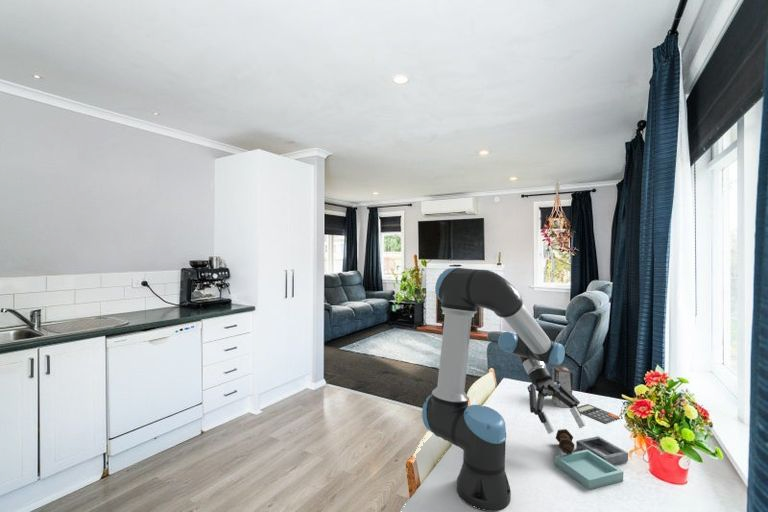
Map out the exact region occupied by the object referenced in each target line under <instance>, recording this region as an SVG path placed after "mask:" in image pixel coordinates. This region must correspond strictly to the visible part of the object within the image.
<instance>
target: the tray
mask: <svg viewBox="0 0 768 512" xmlns="http://www.w3.org/2000/svg"><path fill="white" fill-rule="evenodd" d="M554 465H555V466H556V467H558V468H559V469H560V470H561V471H563V472H564V473H565V474H566V475H568V476H569V477H571V478H572V479H573V480H575V481H577V482H578V483H579V484H581V485H582V486H584V487H585V488H586V489H587V490H590V491H591V490H593V489H597V488H601V487H604V486H607V485H608V486H609V485H612V484H615V483H619V482H622V481H624V471H623V470H622V469H621V468H618V467H616V465H612V464H610V463H609V462H607V461H605V460H604V459H602V458H601V457H599V456H597V455H596V454H594V453H592V452H591V451H589V450H582V451H578V450H577V451H573V453H571V454H566V453H563V454H560V455H556V456H554Z"/></svg>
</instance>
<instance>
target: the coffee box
mask: <svg viewBox="0 0 768 512" xmlns="http://www.w3.org/2000/svg"><path fill="white" fill-rule="evenodd" d="M551 378H552V381H553V382H554V383H555V382H557V381H558V380H559V381H561V383H562V384H563V386H564V387H565V388H566V389H567V390H568V391H569V392H570V393H571V394H572V395H573V385H574V384H573V381H574V379H573V378H574V372H573V371H572V370H570V369H569V368H568V366H561V365H556V366H555V365H552V374H551ZM555 392H556V391H555ZM551 400H552V401H553V402H554V404H555V405H556V406H557V407H559V408H569V409H571V408H570V407H569V406H567V405H566V404H565V403H563V402H562V401H561V400H559V399H558V398H557V397H554V396H551Z"/></svg>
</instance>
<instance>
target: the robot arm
mask: <svg viewBox="0 0 768 512" xmlns="http://www.w3.org/2000/svg"><path fill="white" fill-rule="evenodd" d="M434 291H435V294H436V297H437V299H438V300H439V301H440V302H441V304H440V308H441V310H442V311H443V313H444V320H443V328H442V336H441V337H442V338H441V348H440V356H439V357H440V359H439V367H438V377H437V378H438V379H437V385H436V387H435V388H434V389H433V390H431V394H430V395H428V396H427V398H426V399H425V402H424V403H423V405H422V409H421V418H422V423H423V424H424V426H425V427H426V430H428V431H429V432H430V433H432V434H434V435H435V436H436V437H438V438H441V439H443V440H445V441H446V442H448V443H450V444H452V445H454V446H456V447H458V448H460V449H461V450H462V451H463V455H462V457H463V461H462V465H461V468H460V471H459V473H458V476H457V478H456V493H457V495H458V494H459V495H458V496H459V497H461V498H462V499H463V500H464V501H465V503H466V504H467V503H468V504H467V505H469V504H470V505H472V506H475V507H477V508H480V509H479V510H481V509H485V510H484V511H486V510H492V511H491V512H494V511H493V510H496V511H501V510H504V509H505V508H506V507H508V506H509V505H510V503H511V500H512V499H511V495H512V493H511V486H510V483H509V480H508V476H507V473H506V444H507V442H506V441H507V439H506V438H507V429H506V421H505V419H504V417H503V416H502V414H501V413H499V412H498V411H497V410H495V409H493V408H491V407H489V406H486V405H480V404H470V405H469V400H470V399H469V398H470V397H469V396H468V395H467V394H466V392H465V388H466V378H467V367H468V359H469V358H468V357H469V350H470V349H469V348H470V346H469V345H470V338H471V327H472V320H473V316H474V315H475V314H477V313H478V308H482V309H487V310H490V311H492V312H493V313H494V314H495V315H496V316H497V317H499V318H503V320H504V321H506V323H507V324H508V325H509V327H511V329H512V330H513V331H514V332H511V331H504V332H502V333H500V335H499V337H498V339H497V341H498V342H497V344H498V347H499V348H500V350H502V351H503V352H504V353H507V354H510V355H514V356H516V357H518V358H519V360H520V363H521V364H522V366H523V368H524V370H525V372H526V374H527V375H528V378H529V380H530V384H529V385H528V386H527V387H526V388H527V391H528V395H529V396H528V397H529V410H530V413H532V414H533V413H534V415H536V416H538V418H539V421H540V423H541V424H543V426H544V428H545V431H546V433H547V434H552V433H553V432H554V431H555V429H554V427H553V425H552V423H551V421H550V418H549V417H548V415H547V412H546V411H545V410H544V411H543V408H544V402H545V398H547V397H552V396H554V397H557V398H558V399H559V400H561V401H562V402H563V403H565V404H566V405H567V406H569V407H570V408H569V412H570V413H571V415H572V416H573V419H574V421H575V422H576V424H577V426H578V428H579V429H583V427H585V426H587V424H586V423H585V420H584V419H583V417H582V415H583V414H581V413H580V411H579V409H578V407H579V405H580V403H581V401H580V400H579V399H578V398H576V396H574V394H573V393H572V394H571V393H570V392H569V391H568V390H567V389H566V388H565V387H564V386H563V384H562V383H561V381H559V380H558V381H557V382H555V383H554V382H553V381H552V374H551V373H550V371H549V369H548V368H547V365H546V364H548V365H553V366H555V365H556V366H561V364H562V363H563V361H564V359H565V354H566V351H565V350H566V349H565V346H564V345H563V344H562V343H559V342H556V341H552V340H551V339H550V338H549V336H548V335H547V334H546V332H545V331H544V329H543V328H542V327H541V325H540V324H539V323H538V322H537V320H536V318H535V317H534V316H533V315H532V314H531V312H530V311H529V310H528V309H527V307H526V306H525V304H524V299H523V297H522V295H521V293H520V291H518V290H517V288H516V287H515V286H514V285H513V284H512V283H511V282H509V281H508V280H507V279H505V277H503V276H501V275H500V274H498V273H496V272H493V271H491V270H488V269H475V268H464V267H452V268H451V267H449V268H446V269H445V270H443V271H442V272H441V273H440V274H439V276H438V278H437V280H436V283H435V290H434ZM545 363H546V364H545ZM555 391H556V392H555ZM537 392H538V393H537ZM461 498H460V499H461ZM462 499H461V500H462ZM463 500H462V501H463ZM464 501H463V502H464ZM470 505H469V506H470ZM472 506H471V507H472ZM475 507H474V508H475ZM477 508H476V509H477Z"/></svg>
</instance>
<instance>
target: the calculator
mask: <svg viewBox="0 0 768 512" xmlns="http://www.w3.org/2000/svg"><path fill="white" fill-rule="evenodd" d="M577 407H578V409H579V411H580V413H581V415H584V416H586V417H589V418H590V419H593V420H594V421H595V420H596V421H598V422H600V423H602V424H605V425H607V424H609V423H613V422H615V421H614V420H616V419H618V420H620V418H619V417H620V416H619V415H617V414H613V413H612V412H608V411H606V410H604V409H602V408H599V407H597V406H594V405H591V404H588V403H587V404H584V405H580V406H579V405H578V406H577ZM612 421H613V422H612ZM616 421H617V420H616Z"/></svg>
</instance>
